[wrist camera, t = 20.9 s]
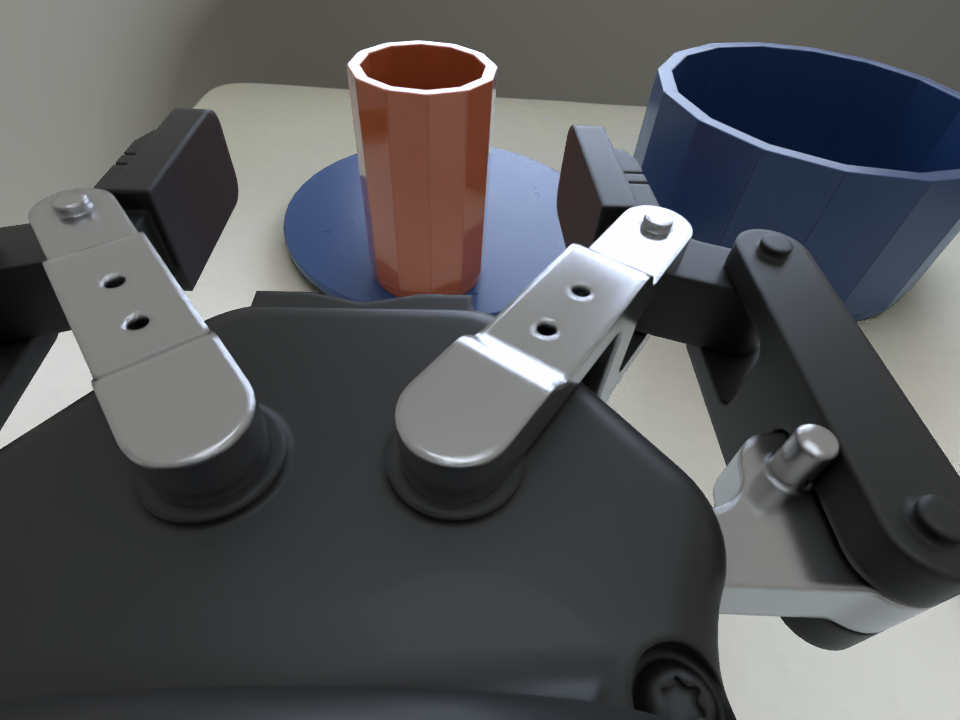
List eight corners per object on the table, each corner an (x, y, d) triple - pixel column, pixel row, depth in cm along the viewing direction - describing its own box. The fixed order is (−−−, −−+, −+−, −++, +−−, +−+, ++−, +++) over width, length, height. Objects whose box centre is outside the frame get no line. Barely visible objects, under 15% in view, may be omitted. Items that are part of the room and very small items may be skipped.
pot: (629, 301, 29) (679, 153, 23) (616, 154, 41) (647, 30, 35) (960, 344, 28) (1108, 201, 22) (849, 181, 40) (924, 58, 34)
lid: (231, 308, 27) (196, 219, 23) (344, 144, 40) (333, 69, 36) (597, 357, 26) (624, 273, 22) (593, 173, 39) (610, 99, 35)
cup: (359, 295, 27) (328, 84, 19) (389, 230, 30) (372, 34, 23) (473, 310, 26) (485, 101, 19) (488, 243, 30) (503, 48, 23)
